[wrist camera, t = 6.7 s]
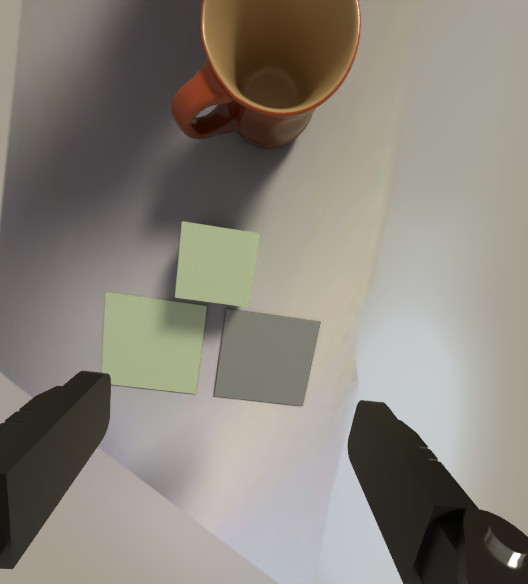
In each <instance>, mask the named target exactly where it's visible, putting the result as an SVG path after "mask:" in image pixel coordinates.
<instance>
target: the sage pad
mask: <svg viewBox="0 0 528 584" xmlns="http://www.w3.org/2000/svg"><path fill="white" fill-rule="evenodd" d="M206 312H207V306H206V305H199V304H192V303H185V302H177V301H170V300H163V299H156V298H149V297H142V296H135V295H128V294H121V293H114V292H105V312H104V333H103V354H102V373H108V374H109V375H110V377H111V384H112V385H121V386H130V387H139V388H147V389H156V390H165V391H174V392H183V393H192V394H196V392H197V384H198V376H199V368H200V360H201V352H202V344H203V336H204V328H205V320H206Z"/></svg>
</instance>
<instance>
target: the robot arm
mask: <svg viewBox="0 0 528 584" xmlns="http://www.w3.org/2000/svg"><path fill="white" fill-rule="evenodd" d="M110 396H111V377H110V375H109V374H108V373H99V372H89V371H81V372H79V373H78V374H76V375H75V376H74V377H73V378H72V379H70V380H69V381H68V382H67V383H66V384H65V385H63V386H56V387H54V388H52V389H50V390H47V391H45V392H43V393H41V394H39V395H37V396H35V397H34V398H33V399H32V400H30V401H29V402H28V403H27V404H25V405H24V406H23V407H22V408H20V410H19V412H15V413H14V414H13V415H11V416H10V417H9V418H8V419H6V420H5V423H1V424H0V569H13V568H14V567H15V565H16V564H17V562H18V561H19V560H20V558H21V557H22V555H23V554H24V552H25V551H26V549H27V548H28V547H29V545H30V544H31V542H32V541H33V539H34V538H35V536H36V535H37V534H38V532H39V531H40V529H41V528H42V526H43V525H44V523H45V522H46V520H47V519H48V518H49V516H50V515H51V513H52V512H53V510H54V509H55V507H56V506H57V505H58V503H59V502H60V500H61V499H62V497H63V496H64V494H65V493H66V491H67V490H68V489H69V487H70V486H71V484H72V483H73V481H74V480H75V478H76V477H77V476H78V474H79V473H80V471H81V470H82V468H83V467H84V465H85V464H86V462H87V461H88V460H89V458H90V457H91V455H92V454H93V452H94V451H95V449H96V448H97V447H98V445H99V444H100V442H101V441H102V439H103V437H104V435H105V433H106V431H107V428H108V424H109V420H110ZM348 455H349V459H350V462H351V464H352V466H353V469H354V471H355V474H356V476H357V478H358V480H359V483H360V485H361V487H362V489H363V492H364V494H365V496H366V499H367V501H368V503H369V506H370V508H371V510H372V512H373V515H374V517H375V519H376V522H377V524H378V526H379V529H380V531H381V533H382V536H383V538H384V540H385V542H386V545H387V547H388V549H389V552H390V554H391V556H392V559H393V561H394V563H395V565H396V568H397V570H398V572H399V575H400V577H401V579H402V581H403V584H528V536H526V535H525V534H524V533H523V532H522V531H520V530H519V529H518V528H517V527H515V526H514V525H512V524H511V523H510V522H508V521H506V520H505V519H503V518H501V517H499V516H497V515H495V514H493V513H490V512H488V511H484V510H480V509H478V507H477V506H476V505H475V504H474V502H473V501H472V500H471V499H470V498H469V497H468V495H467V494H466V493H465V491H464V490H463V489H462V488H461V487H460V485H459V484H458V483H457V482H456V480H455V479H454V478H453V477H452V476H451V474H450V473H449V472H448V471H447V469H446V468H445V467H444V466H443V465H442V463H441V462H438V460H437V457H436V456H435V455H434V454H433V453H432V451H431V450H430V449H428V446H427V445H426V444H425V443H424V441H423V440H422V439H421V438H420V436H419V435H418V434H417V433H416V432H415V431H414V430H412V429H411V428H410V427H408V426H407V425H406V424H405V423H404V422H402V421H401V420H398V419H397V418H396V416H395V415H394V414H393V413H392V411H391V410H390V409H389V407H388V406H387V405H386V404H385V403H383V402H374V401H364V400H361V401H359V402H358V404H357V407H356V411H355V415H354V419H353V423H352V427H351V431H350V434H349V438H348Z"/></svg>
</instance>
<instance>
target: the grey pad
mask: <svg viewBox="0 0 528 584" xmlns="http://www.w3.org/2000/svg"><path fill="white" fill-rule="evenodd" d="M320 323H321V322H319V321H312V320H305V319H298V318H291V317H284V316H277V315H270V314H263V313H255V312H248V311H241V310H234V309H226V316H225V323H224V330H223V337H222V344H221V352H220V359H219V366H218V373H217V380H216V387H215V395H214V396H218V397H227V398H236V399H245V400H254V401H263V402H272V403H280V404H289V405H298V406H303V403H304V398H305V393H306V389H307V384H308V379H309V375H310V370H311V365H312V361H313V356H314V351H315V347H316V342H317V337H318V332H319V328H320Z"/></svg>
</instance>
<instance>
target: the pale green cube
mask: <svg viewBox="0 0 528 584" xmlns="http://www.w3.org/2000/svg"><path fill="white" fill-rule="evenodd" d="M259 238H260V234H259V233H253V232H247V231H241V230H234V229H228V228H222V227H215V226H209V225H203V224H197V223H190V222H184V221H182V226H181V237H180V248H179V258H178V269H177V280H176V291H175V298H182V299H190V300H197V301H205V302H212V303H220V304H227V305H234V306H242V307H249V305H250V298H251V291H252V285H253V278H254V271H255V265H256V258H257V251H258V244H259Z"/></svg>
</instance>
